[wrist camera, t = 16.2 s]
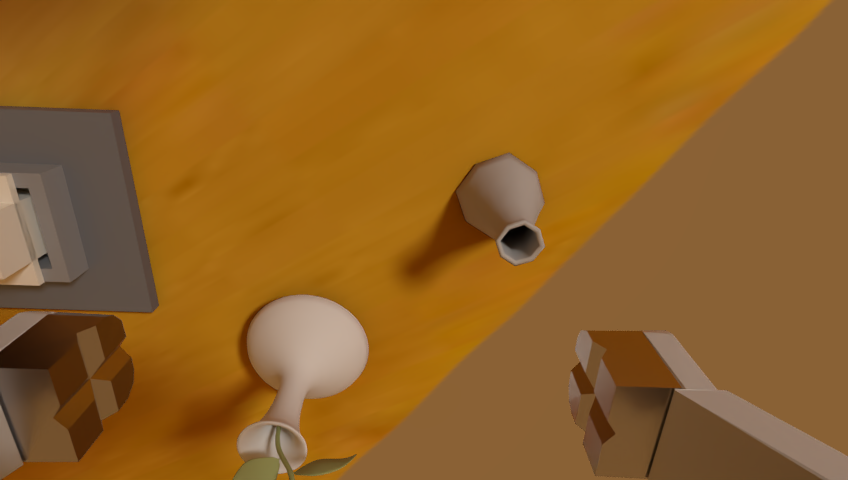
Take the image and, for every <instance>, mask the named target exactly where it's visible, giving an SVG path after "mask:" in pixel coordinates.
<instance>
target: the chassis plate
mask: <svg viewBox="0 0 848 480" xmlns="http://www.w3.org/2000/svg"><path fill="white" fill-rule="evenodd" d="M0 173H10V174H12V177H13V180H14V184H15V187H16V190H21V191H29V192H30V195H31V198H32V202H33V205H34V209H35V212H36V215H37V219H38V222H39V226H40V229H41V232H42V236H43V239H44V243H45V246H46V249H47V253H46V254H44V255H42V256H41V257H39V258H38V262H39V266H40V269H41V272H42V275H43V279H44V283H43V284H41V285H40V286H32V285H2V284H0V307H5V308H36V309H66V310H97V311H128V312H153V311H154V310H155V309H156V308H157V307H158V306H159V304H158V299H157V294H156V289H155V284H154V279H153V274H152V270H151V265H150V260H149V255H148V250H147V245H146V240H145V235H144V230H143V226H142V221H141V216H140V211H139V206H138V201H137V196H136V191H135V186H134V182H133V177H132V172H131V167H130V162H129V157H128V152H127V147H126V142H125V138H124V133H123V128H122V123H121V118H120V113H119V111H118V110H91V109H65V108H39V107H12V106H0Z"/></svg>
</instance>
